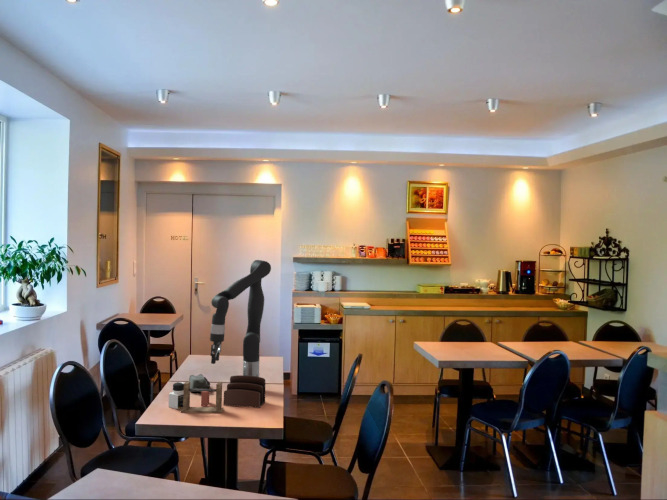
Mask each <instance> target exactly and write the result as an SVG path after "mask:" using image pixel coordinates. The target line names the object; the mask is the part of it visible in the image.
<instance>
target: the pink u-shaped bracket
mask: <svg viewBox="0 0 667 500" xmlns="http://www.w3.org/2000/svg"><path fill="white" fill-rule="evenodd" d="M200 393H201V396H200V397H201V399H200V400H201V402H200V407H208V404H210V392H209V391H202V392H200Z"/></svg>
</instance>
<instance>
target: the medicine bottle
mask: <svg viewBox="0 0 667 500" xmlns="http://www.w3.org/2000/svg"><path fill="white" fill-rule="evenodd" d="M184 383H185V382H182V381H179V382H174V383H173V384H172V392H169V393H168V408H172V409H175V410H181V409H182V408H183V395H184Z"/></svg>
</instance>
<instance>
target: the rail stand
mask: <svg viewBox="0 0 667 500" xmlns="http://www.w3.org/2000/svg"><path fill="white" fill-rule="evenodd" d="M183 383H184V395H183V408H181V409H180V413H184V414H186V413H188V414H189V413H191V414H193V413H194V414H222V413H223V411H224V409H225V408H224V407H222V405H223V402H222V401H223V398H222V397H223V381H218V382H217V383H216V387H215V388H210V389H190V381H189V380H188V381H187V380H186V381H185V382H183ZM190 391H196V392H199V391H209V393H210V392H211V393H212V392H214V393H215V406H210V407H209V406H191V403H190V402H191V392H190Z"/></svg>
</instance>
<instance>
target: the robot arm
mask: <svg viewBox="0 0 667 500" xmlns="http://www.w3.org/2000/svg"><path fill="white" fill-rule="evenodd" d="M249 269H250V271H249V274H247V275H246V276H243V277H242V278H240V279H238V280H236V281H235V282H233V283H232V284H230V286H229V287H227V288H225V289H224V290H222V291H221V292H219V293H217V294H216V295H214V296H213V298H212V299H211V301H210V303H211V306H212V307H213V308H215V309H216V310H215V313H213V314H212V317H211V326H210V332H209V333H210V335H209V340H210V342H212V343H213V344H211V348H210V357H211V359H210V360H211V361H210V363H211V364H213V365H214V364H216V361H218V362H219V360H220V355H221V352H222V343H223V342H224V341H225V333H226V331H225V330H226V317H227V313H228V311H229V307H230V306H229V305H230V302H229V301H231V300H235V299H236V298H237V297H239V296H240V295H241V294H242V293H243V292H245V290H247V289H248V288H249V293H248V301H247V327H246V333H245V336H244V338H243V340H242V341H243V343H242V357H243V358H242V360H243V362H242V375H245V376H256V377H260V343H261V323H262V319H263V314H264V308H265V295H264V292H263V287H262V279H264V278H265V277H267V276H268V275H269V274H271V273H270V272H271V270H272V266H271V264H270V263H269V262H268V261H265V260H260V259H256V260H253V261H252V262H251V264H250V268H249Z"/></svg>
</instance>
